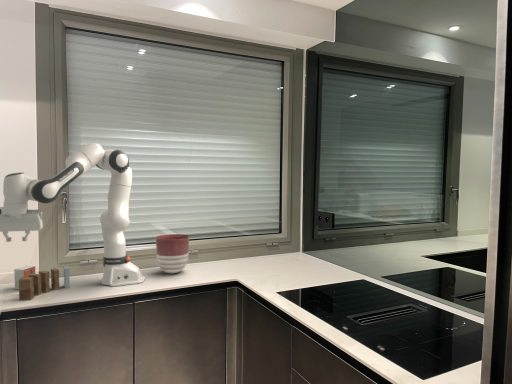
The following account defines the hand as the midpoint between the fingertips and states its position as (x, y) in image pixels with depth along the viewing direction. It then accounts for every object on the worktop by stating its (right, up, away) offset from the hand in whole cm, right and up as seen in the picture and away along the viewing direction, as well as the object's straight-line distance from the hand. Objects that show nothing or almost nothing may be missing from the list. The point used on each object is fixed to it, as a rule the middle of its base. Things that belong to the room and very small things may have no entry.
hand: (16, 241), depth 163 cm
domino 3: (-1, -28, +23) cm, 36 cm away
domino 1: (-3, -29, +11) cm, 31 cm away
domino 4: (+2, -28, +27) cm, 39 cm away
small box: (-14, -28, +29) cm, 42 cm away
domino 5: (+6, -28, +31) cm, 42 cm away
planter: (+55, -27, +59) cm, 85 cm away
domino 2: (-2, -28, +18) cm, 33 cm away
